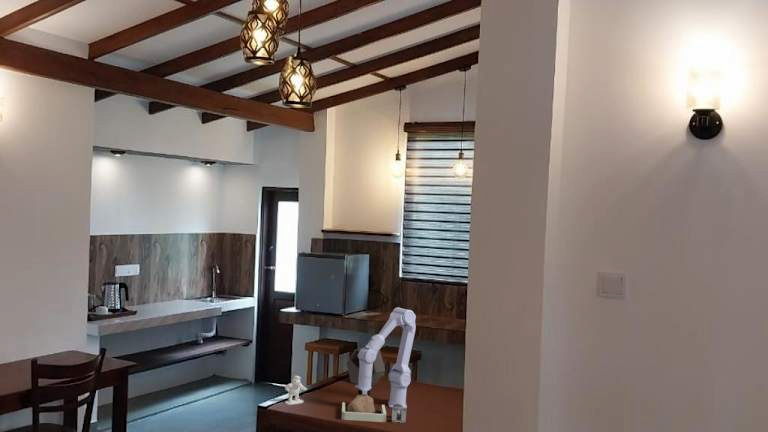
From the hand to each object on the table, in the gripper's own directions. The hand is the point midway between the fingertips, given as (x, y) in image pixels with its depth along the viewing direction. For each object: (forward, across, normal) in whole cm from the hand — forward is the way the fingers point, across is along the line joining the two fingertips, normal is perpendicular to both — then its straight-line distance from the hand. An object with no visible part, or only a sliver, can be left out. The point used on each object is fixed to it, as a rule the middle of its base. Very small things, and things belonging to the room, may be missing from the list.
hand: (362, 407), depth 306 cm
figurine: (+1, -4, -30) cm, 30 cm away
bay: (+1, +9, 0) cm, 9 cm away
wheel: (+1, +11, +15) cm, 19 cm away
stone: (+1, +9, 0) cm, 9 cm away
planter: (+1, -49, +2) cm, 49 cm away
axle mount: (+1, +16, +15) cm, 22 cm away
